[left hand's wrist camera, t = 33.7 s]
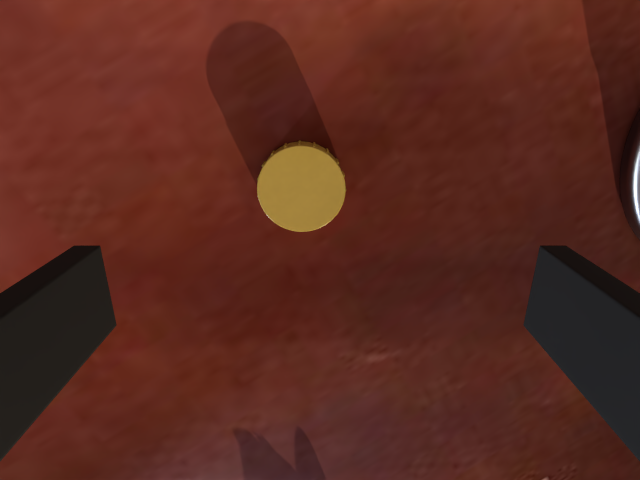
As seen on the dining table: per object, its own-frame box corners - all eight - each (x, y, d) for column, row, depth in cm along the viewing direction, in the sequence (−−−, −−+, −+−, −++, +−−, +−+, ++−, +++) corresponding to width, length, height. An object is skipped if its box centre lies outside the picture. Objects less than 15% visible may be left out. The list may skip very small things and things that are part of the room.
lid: (244, 197, 23) (239, 205, 22) (285, 122, 22) (283, 125, 20) (316, 237, 24) (316, 247, 23) (360, 168, 23) (363, 174, 21)
